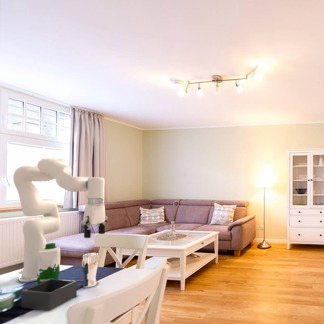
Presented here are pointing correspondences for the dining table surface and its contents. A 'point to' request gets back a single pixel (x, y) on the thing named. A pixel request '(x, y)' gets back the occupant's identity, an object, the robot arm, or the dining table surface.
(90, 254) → the beer glass
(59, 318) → the dining table surface
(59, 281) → the bin
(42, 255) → the milk carton
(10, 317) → the dining table surface
